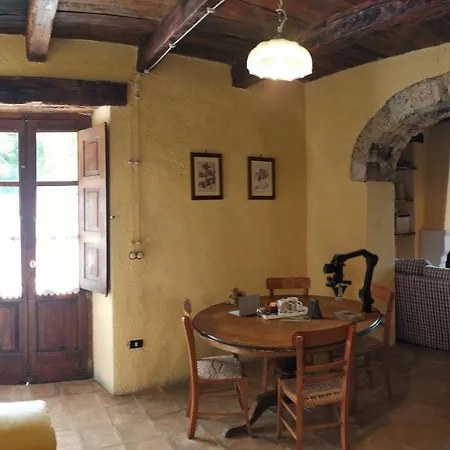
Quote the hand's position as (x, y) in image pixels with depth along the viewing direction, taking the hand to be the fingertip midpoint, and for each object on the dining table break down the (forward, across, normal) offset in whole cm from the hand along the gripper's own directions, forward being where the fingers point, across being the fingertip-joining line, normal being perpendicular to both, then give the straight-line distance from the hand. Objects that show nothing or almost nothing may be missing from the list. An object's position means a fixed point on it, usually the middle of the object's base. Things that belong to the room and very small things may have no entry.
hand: (338, 296), depth 327 cm
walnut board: (+12, +3, +12) cm, 17 cm away
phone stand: (+12, +20, -2) cm, 23 cm away
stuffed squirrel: (+12, +38, -68) cm, 78 cm away
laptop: (+12, +49, -41) cm, 65 cm away
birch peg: (+3, 0, 0) cm, 3 cm away
